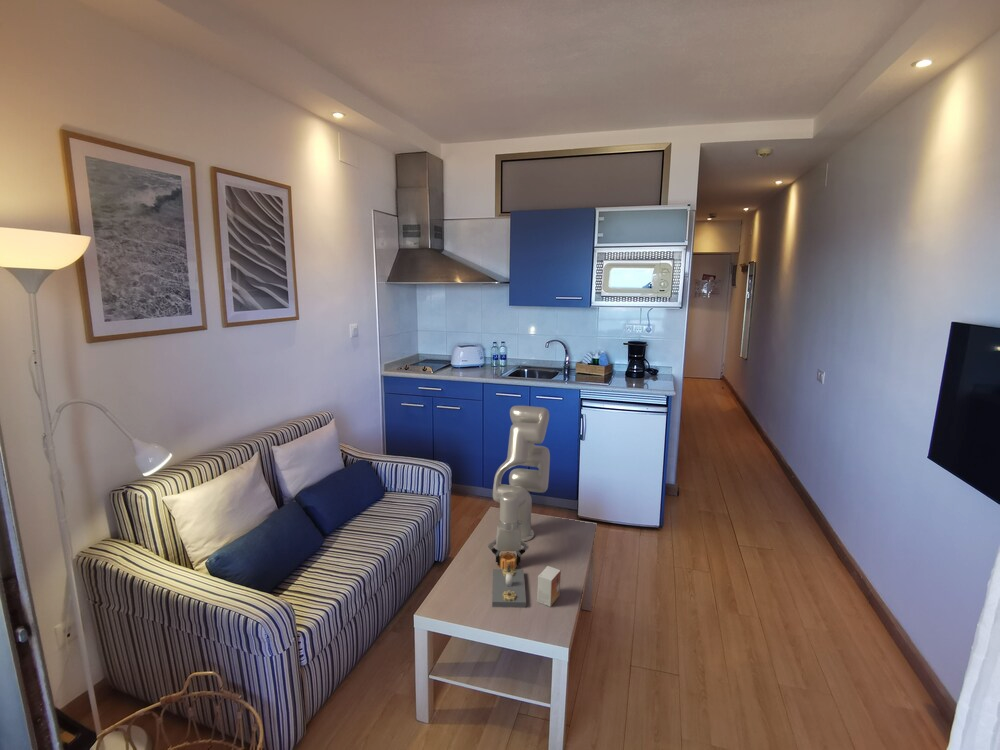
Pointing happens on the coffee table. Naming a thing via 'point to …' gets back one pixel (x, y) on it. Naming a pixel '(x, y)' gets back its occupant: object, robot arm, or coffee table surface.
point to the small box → (548, 586)
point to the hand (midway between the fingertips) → (507, 563)
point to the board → (508, 588)
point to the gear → (507, 560)
